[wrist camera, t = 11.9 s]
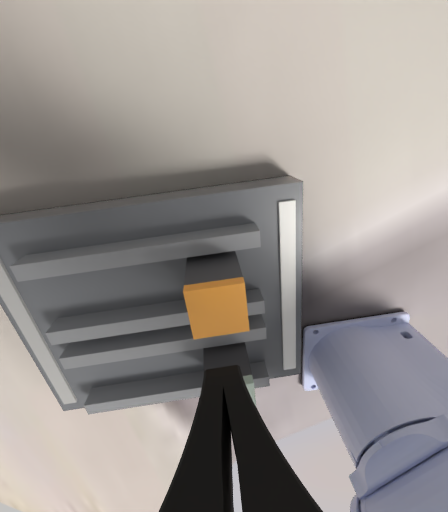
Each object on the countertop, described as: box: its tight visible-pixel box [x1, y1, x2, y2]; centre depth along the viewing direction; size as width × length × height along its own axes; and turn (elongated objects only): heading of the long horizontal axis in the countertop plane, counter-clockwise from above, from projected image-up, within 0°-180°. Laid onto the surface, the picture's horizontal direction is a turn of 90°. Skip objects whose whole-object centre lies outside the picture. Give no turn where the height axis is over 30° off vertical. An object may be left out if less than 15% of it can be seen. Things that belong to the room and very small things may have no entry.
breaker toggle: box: [183, 251, 250, 339], centre depth 15 cm, size 3×3×4 cm
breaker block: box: [0, 176, 303, 414], centre depth 17 cm, size 20×16×7 cm
